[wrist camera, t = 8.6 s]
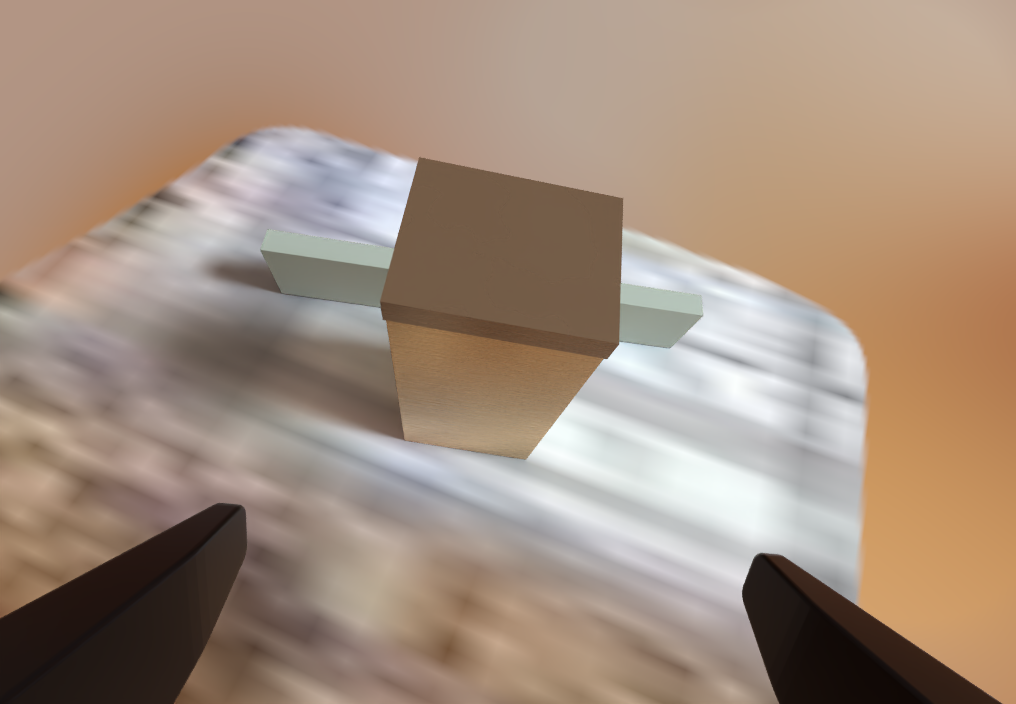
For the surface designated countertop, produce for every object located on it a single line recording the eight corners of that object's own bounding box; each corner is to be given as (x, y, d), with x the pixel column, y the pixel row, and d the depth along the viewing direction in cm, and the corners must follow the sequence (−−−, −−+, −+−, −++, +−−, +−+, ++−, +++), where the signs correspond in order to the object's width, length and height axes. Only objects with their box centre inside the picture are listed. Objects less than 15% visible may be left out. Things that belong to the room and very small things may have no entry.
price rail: (281, 293, 22) (260, 249, 19) (289, 271, 23) (268, 225, 20) (670, 348, 24) (703, 315, 21) (668, 326, 24) (701, 291, 22)
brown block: (403, 441, 20) (380, 301, 10) (423, 350, 22) (419, 155, 12) (526, 461, 21) (619, 344, 11) (536, 369, 22) (622, 196, 13)
